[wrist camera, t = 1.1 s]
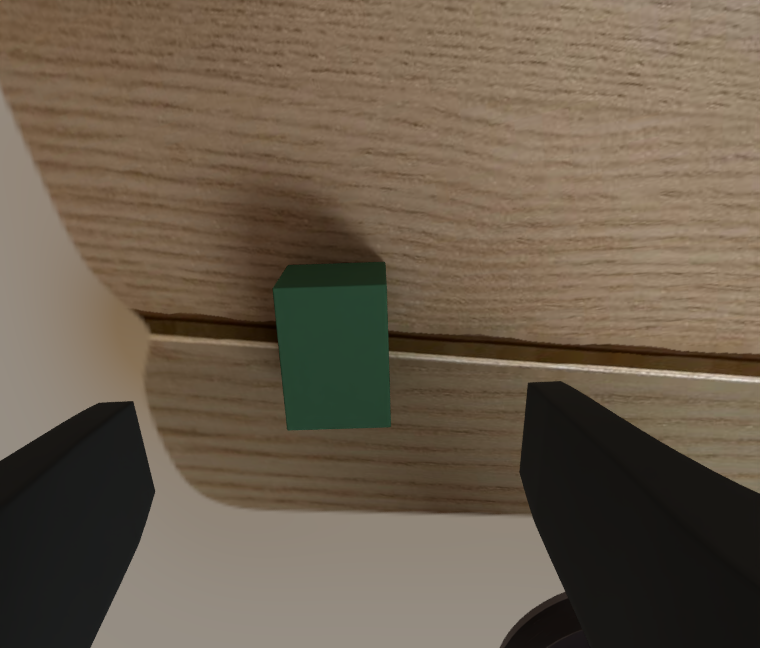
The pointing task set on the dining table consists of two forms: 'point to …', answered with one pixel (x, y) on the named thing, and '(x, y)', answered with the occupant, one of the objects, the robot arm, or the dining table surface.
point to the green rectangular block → (334, 345)
